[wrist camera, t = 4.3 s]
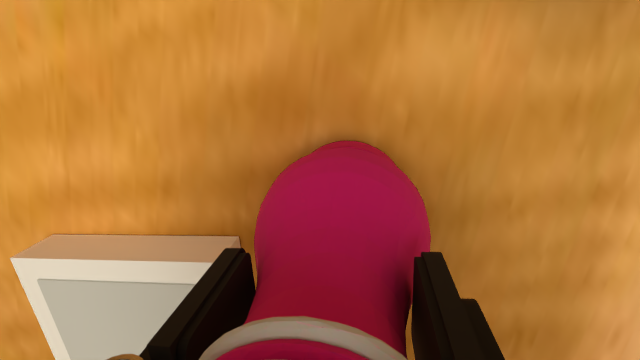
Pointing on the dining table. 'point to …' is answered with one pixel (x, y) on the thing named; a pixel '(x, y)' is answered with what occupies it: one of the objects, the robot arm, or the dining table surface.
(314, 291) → the pepper mill
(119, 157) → the dining table surface
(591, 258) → the dining table surface
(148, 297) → the stand
